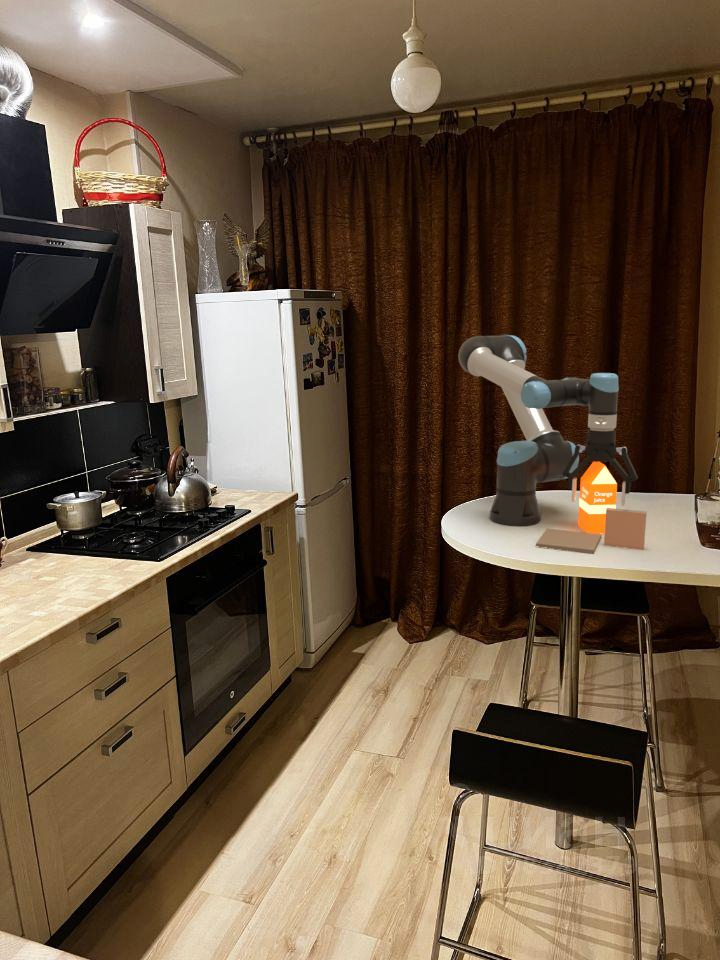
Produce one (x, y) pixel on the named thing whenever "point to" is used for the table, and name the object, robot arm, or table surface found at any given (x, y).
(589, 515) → the orange juice
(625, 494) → the robot arm
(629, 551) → the table surface
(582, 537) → the cork mat
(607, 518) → the tile
